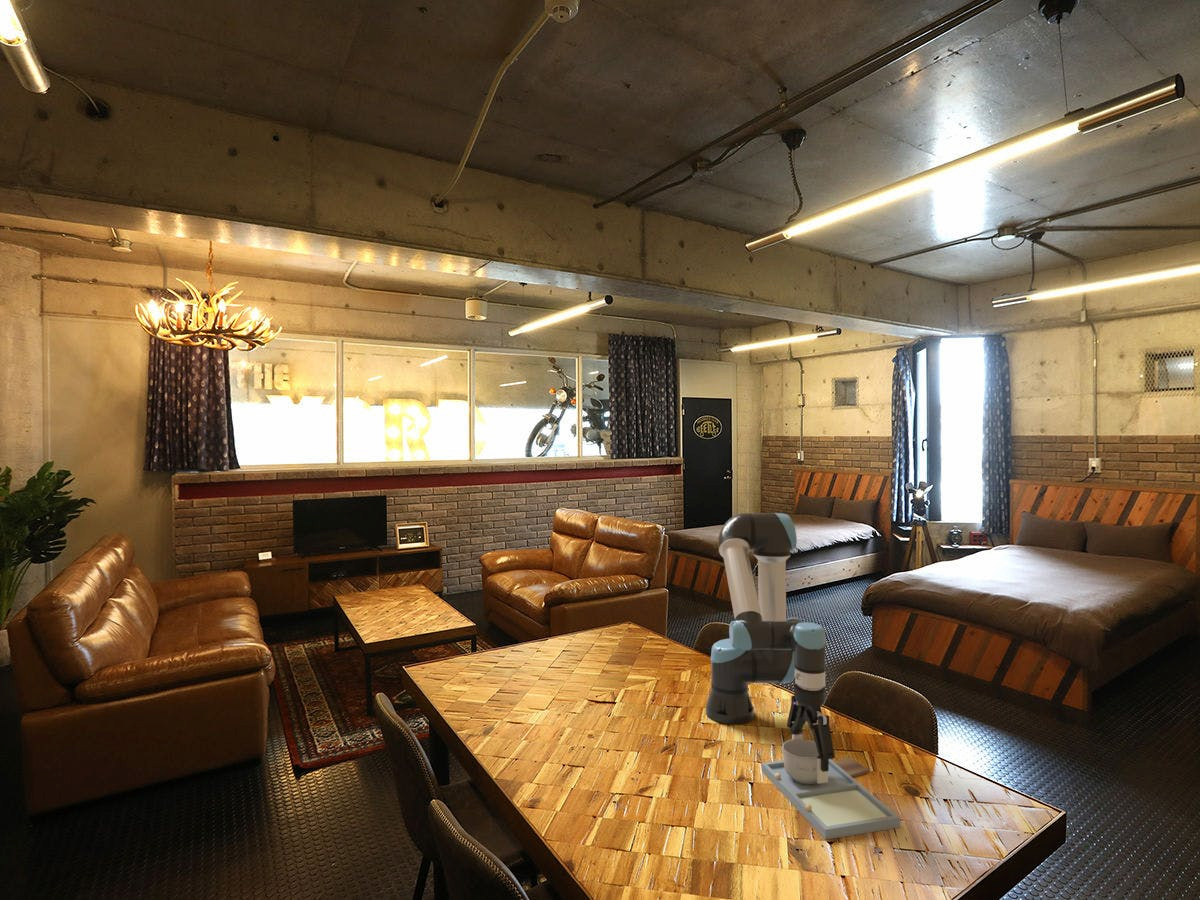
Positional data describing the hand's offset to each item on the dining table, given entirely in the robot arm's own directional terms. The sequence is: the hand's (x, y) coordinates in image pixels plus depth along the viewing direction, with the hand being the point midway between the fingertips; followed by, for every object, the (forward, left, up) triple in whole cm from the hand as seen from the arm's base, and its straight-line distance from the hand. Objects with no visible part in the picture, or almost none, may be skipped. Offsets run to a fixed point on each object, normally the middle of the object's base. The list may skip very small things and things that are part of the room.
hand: (809, 770), depth 158 cm
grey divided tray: (+7, 0, -3) cm, 8 cm away
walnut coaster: (-3, +14, -4) cm, 15 cm away
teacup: (0, 0, -2) cm, 2 cm away
